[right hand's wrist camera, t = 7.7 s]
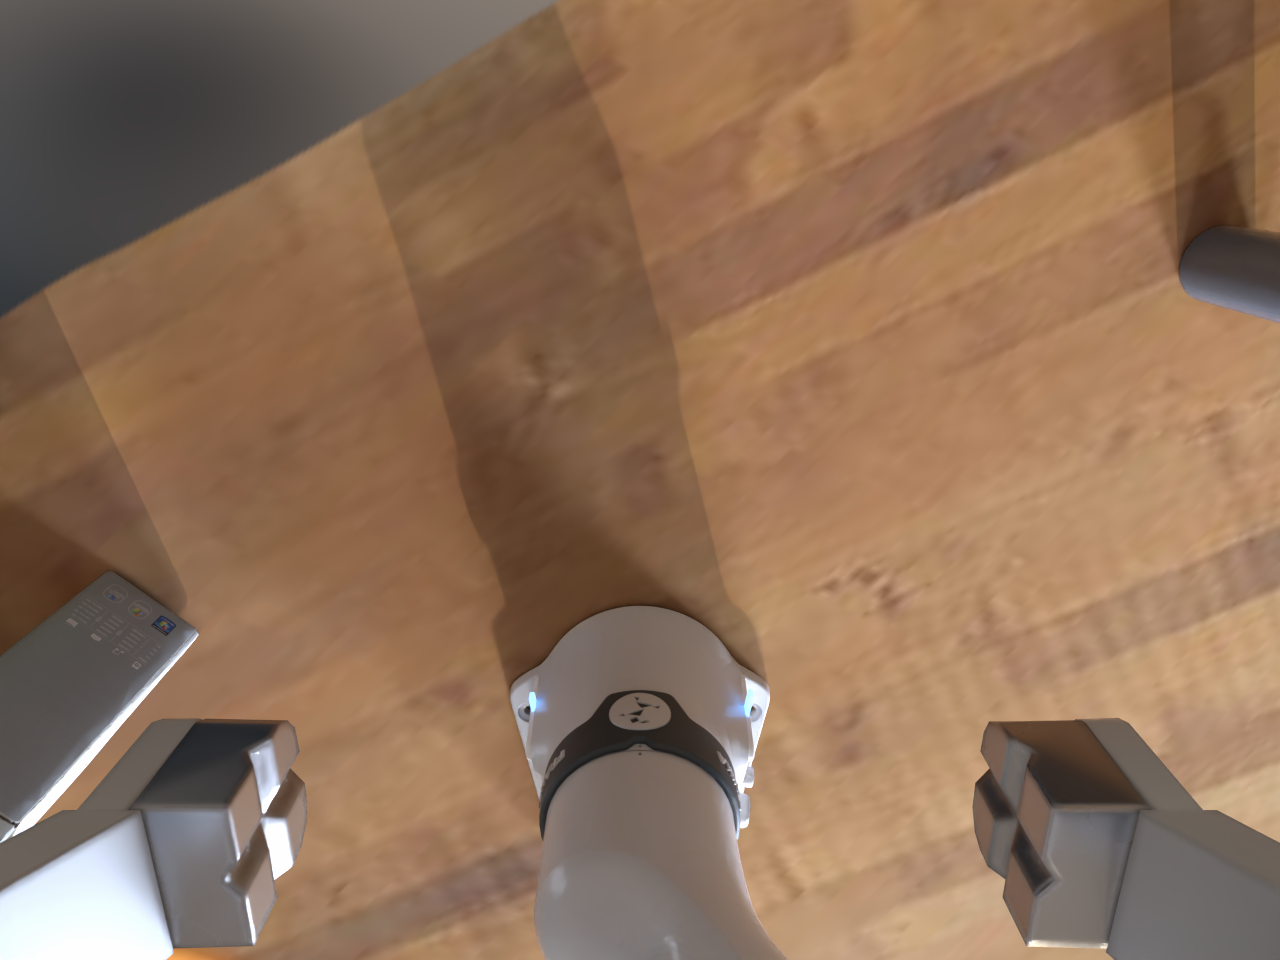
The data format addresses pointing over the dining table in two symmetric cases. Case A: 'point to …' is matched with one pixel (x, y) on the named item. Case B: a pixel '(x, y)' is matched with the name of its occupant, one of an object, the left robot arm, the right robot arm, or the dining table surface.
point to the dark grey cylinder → (1235, 270)
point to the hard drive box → (77, 690)
